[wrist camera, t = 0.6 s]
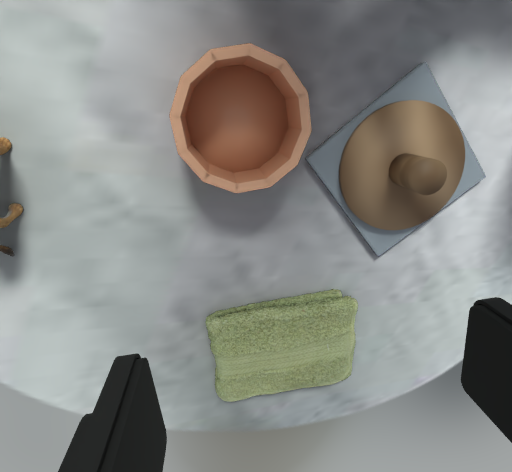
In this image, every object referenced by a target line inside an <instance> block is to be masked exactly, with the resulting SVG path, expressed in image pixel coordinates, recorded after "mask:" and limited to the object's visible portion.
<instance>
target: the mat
mask: <svg viewBox="0 0 512 472" xmlns="http://www.w3.org/2000/svg"><path fill="white" fill-rule="evenodd" d="M407 100H419V101H425V102H430V103H432V104H435V105H437V106H439V107H441V108H442V109H444V110H445V111H446V112H447V113H449V114H450V115H451V116H452V118H453V119H454V120H455V121H456V123H457V125H458V126H459V124H458V122H457V120H456V118H455V116H454V115H453V113H452V111H451V109H450V107H449V105H448V103H447V101H446V99H445V97H444V95H443V94H442V92H441V90H440V88H439V86H438V84H437V82H436V80H435V78H434V76H433V74H432V73H431V71H430V69H429V67H428V65H427V63H426V62H424V63H421V64H419V65H418V66H417V67H416V68H415V69H413V70H412V71H411V72H410V73H408V74H407V75H406V76H405V77H404V78H402V79H401V80H400V81H399V82H397V83H396V84H395V85H394V86H393V87H391V88H390V89H389V90H388V91H386V92H385V93H384V94H383V95H382V96H380V97H379V98H378V99H377V100H375V101H374V102H373V103H372V104H371V105H369V106H368V107H367V108H366V109H364V110H363V111H362V112H361V113H360V114H358V115H357V116H356V117H355V118H353V119H352V120H351V121H350V122H349V123H347V124H346V125H345V126H344V127H342V128H341V129H340V130H339V131H338V132H336V133H335V134H334V135H333V136H331V137H330V138H329V139H328V140H327V141H325V142H324V143H323V144H322V145H320V146H319V147H318V148H317V149H316V150H314V151H313V152H312V153H311V154H309V155H308V156H307V157H306V158H305V159H306V160H307V161H308V163H309V164H310V166H311V167H312V168H313V170H314V171H315V172H316V174H317V175H318V176H319V178H320V179H321V180H322V182H323V183H324V185H325V186H326V187H327V189H328V190H329V191H330V193H331V194H332V195H333V197H334V198H335V200H336V201H337V202H338V204H339V205H340V206H341V208H342V209H343V210H344V212H345V213H346V214H347V216H348V217H349V219H350V220H351V221H352V223H353V224H354V225H355V227H356V228H357V229H358V231H359V232H360V233H361V235H362V236H363V238H364V239H365V240H366V242H367V243H368V244H369V246H370V247H371V248H372V250H373V251H374V252H375V254H376V255H377V256H378V257H379V256H380V255H381V254H383V253H384V252H385V251H387V250H388V249H389V248H391V247H392V246H393V245H395V244H396V243H397V242H399V241H400V240H401V239H403V238H404V237H405V236H407V235H408V234H409V233H411V232H412V231H414V230H415V229H416V228H418V227H419V226H420V225H422V224H423V223H424V222H423V223H421V224H419V225H416V226H414V227H411V228H407V229H402V230H383V229H379V228H375V227H373V226H371V225H368V224H367V223H365V222H364V221H362V220H361V219H359V218H358V217H357V216H356V215H355V214H354V213H353V212H352V211H351V210H350V209H349V207H348V206H347V204H346V203H345V201H344V198H343V196H342V193H341V189H340V184H339V165H340V160H341V156H342V152H343V150H344V147H345V145H346V143H347V141H348V139H349V137H350V136H351V134H352V133H353V131H354V130H355V128H356V127H357V126H358V125H359V124H360V123H361V122H362V121H363V120H364V119H365V118H366V117H367V116H369V115H370V114H371V113H373V112H374V111H376V110H377V109H379V108H381V107H383V106H386V105H388V104H391V103H394V102H399V101H407ZM459 128H460V126H459ZM460 131H461V133H462V136H463V140H464V145H465V164H464V169H463V174H462V177H461V180H460V182H459V184H458V187H457V189H456V191H455V192H454V194H453V195H452V197H451V198H450V200H449V201H448V202H447V203H446V205H445V206H444V207H446V206H447V205H448V204H450V203H451V202H453V201H454V200H455V199H457V198H458V197H459V196H461V195H462V194H463V193H465V192H466V191H467V190H469V189H470V188H471V187H473V186H474V185H475V184H477V183H478V182H479V181H481V180H482V179H483V178H485V177H486V176H485V174H484V172H483V170H482V168H481V166H480V164H479V162H478V160H477V158H476V156H475V155H474V153H473V151H472V149H471V147H470V145H469V143H468V141H467V139H466V137H465V135H464V134H463V132H462V130H461V128H460ZM444 207H443V208H444ZM443 208H442V209H443ZM442 209H441V210H442ZM425 222H426V221H425Z"/></svg>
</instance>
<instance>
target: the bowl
mask: <svg viewBox="0 0 512 472" xmlns="http://www.w3.org/2000/svg"><path fill="white" fill-rule="evenodd" d="M169 115H170V116H169V117H170V121H171V125H172V129H173V134H174V138H175V142H176V147H177V151H178V153H179V155H180V156H181V158H182V159H183V160H184V161H185V162H186V163H187V164H188V165H189V167H190V168H191V169H192V170H193V171H194V172H195V173H196V174H197V176H198V177H199V178H200V179H201V180H202V181H203V182H205V183H208V184H211V185H214V186H217V187H219V188H222V189H225V190H228V191H231V192H234V193H241V192H247V191H253V190H258V189H264V188H269V187H271V186H272V185H274V184H275V183H276V182H277V181H279V180H280V179H281V178H282V177H283V176H285V175H286V174H287V173H288V172H290V171H291V170H292V169H293V168H294V167H296V166H297V165H298V163H299V160H300V158H301V155H302V153H303V150H304V148H305V146H306V143H307V141H308V138H309V136H310V134H311V131H312V130H311V119H310V108H309V98H308V93H307V90H306V89H305V87H304V86H303V84H302V83H301V81H300V80H299V78H298V77H297V75H296V74H295V72H294V71H293V70H292V68H291V67H290V65H289V64H288V62H287V61H286V60H285V59H283V58H281V57H279V56H277V55H275V54H272V53H270V52H268V51H266V50H264V49H262V48H259V47H257V46H255V45H253V44H251V43H250V44H249V43H247V44H240V45H234V46H228V47H221V48H215V49H211V50H209V51H208V52H207V53H206V54H205V55H203V56H202V57H201V58H200V59H199V60H198V61H197V62H196V63H195V64H194V65H193V66H191V67H190V68H189V69H188V70H187V71H186V72H185V73H184V74H183V75H182V76H181V77H180V80H179V84H178V87H177V90H176V94H175V97H174V101H173V104H172V108H171V111H170V114H169Z"/></svg>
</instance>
